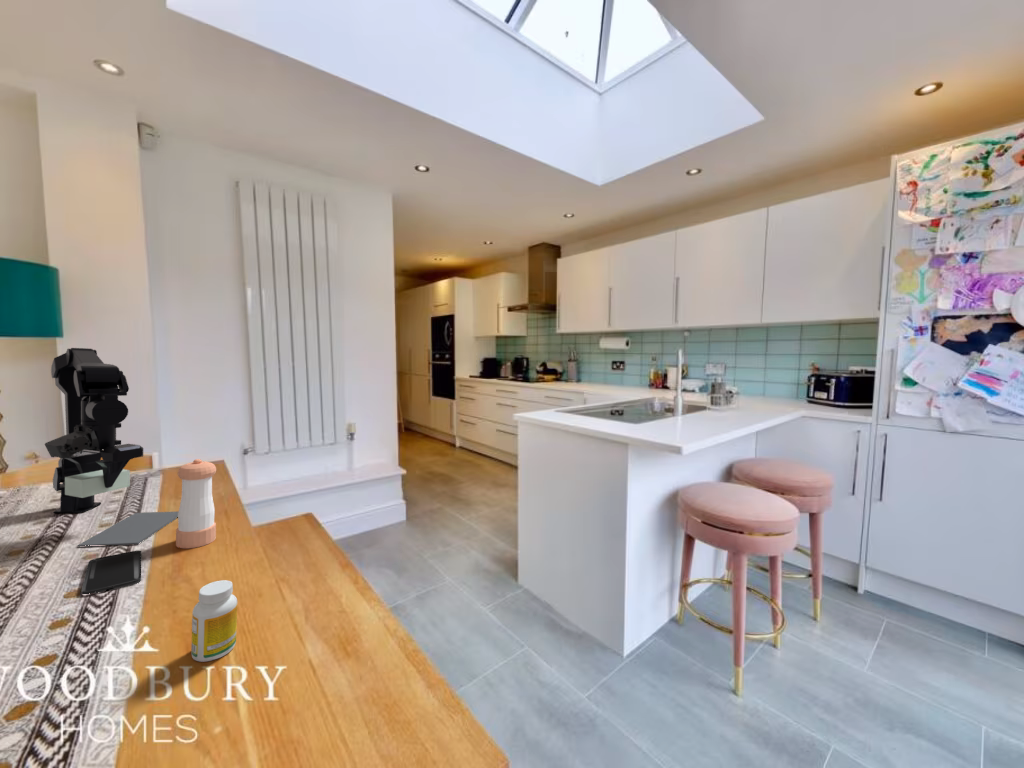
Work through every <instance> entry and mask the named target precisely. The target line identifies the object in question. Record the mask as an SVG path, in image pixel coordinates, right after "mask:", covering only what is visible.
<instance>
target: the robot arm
mask: <svg viewBox="0 0 1024 768" xmlns="http://www.w3.org/2000/svg"><path fill="white" fill-rule="evenodd" d="M50 371H51V372H50V373H51V378H52V379H54V383H55V386H56V387H57V388H58V390H59V391H60V392H62V394H64V407H65V408H64V410H65V429H66V430H65V433H66V434H64V435H62V436H60V437H57V438H54V439H52V440H49V441H47V442H45V443H44V446H45V448H46V450H47V452H48V454H49V455H50V457H51V458H59V459H58V461H57V464H58V465H57V467H55V468H54V473H53V478H52V488H53V489H54V491H56V492H60V499H59V500H60V503H59V506H60V508H58V509H55V510H53V514H65V513H66V514H70V513H73V514H75V513H85V512H87V511H90V510H92V509H94V508H96V507H98V506H100V505H102V501H101V502H99V501H97V502H96V501H95V495H92V496H88V497H84V498H80V497H75V496H69V495H65V477H68V476H73V475H78V474H84V473H89V472H94V471H99V470H103V477H104V484H105V487H106V488H109V487H112V486H113V484H114V482H115V481H116V479H117V478H118V476H119V475H120V473H121V471H122V470H123V469H125V467H126V466H127V465H128V463H129V462H130V460H133V459H136V458H141V457H144V447H143V446H141V445H140V444H135V443H125V444H122V440H120V439H117V429H119V428H122V423H121V422H123V421H125V420H126V418H128V415H129V409H128V406H127V405H126V404H125V403H124V402H123V401H121V400H119V396H121V397H122V396H123V397H126V396H128V392H129V390H130V388H129V383H128V381H127V377H126V375H125V374H124V372H123V371H122V370H120V368H119V367H118V366H117V365H114V364H110V363H104V362H103V360H102V359H101V358H100V357H99V356H98V352H97V350H96V349H93V348H88V347H87V348H85V347H84V348H83V347H71V348H67V349H66V351H65V352H64V353H62V354H61V355H58V356H56V357H54V358H53V361H52V364H51V369H50Z"/></svg>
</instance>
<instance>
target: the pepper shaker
mask: <svg viewBox="0 0 1024 768" xmlns="http://www.w3.org/2000/svg"><path fill="white" fill-rule="evenodd" d="M216 472H217V467H216V465H215V463H212V462H209V461H206V460H205V461H203V460H202V459H200V458H196V459H194V460H193V461H192V462H188V463H185V464H183V465H181V466H180V467H179V468H178V470H177V477H178V478H179V479H180V480H181V499H180V503H179V504H180V505H179V508H178V511H179V512H178V511H177V512H178V518H177V522H178V525H177V526H178V527H177V528H176V529H175V546H176V547H177V548H179V547H180V548H179V549H195V548H199V547H203V546H207V545H209V544H211V543H213V542H214V541H215V540H216V537H217V523H216V521H215V512H216V511H215V510H216V509H215V504H214V503H215V502H214V500H213V499H214V498H213V477H214V476H215V474H216Z"/></svg>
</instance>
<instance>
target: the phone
mask: <svg viewBox="0 0 1024 768" xmlns="http://www.w3.org/2000/svg"><path fill="white" fill-rule="evenodd" d="M84 574H85V576H84V580H83V583H82V587H81V592H82V594H89V593H90V594H91V593H98V592H103V591H106V590H111V591H114V590H118V589H124V588H126V587H127V588H128V587H131V586H135V585H137V583H138V584H139V582H140V581H142V550H133V551H128V552H122V553H116V554H111V555H107V556H102V557H95V558H92V559H91V560H89V561H88V562H87V566H86V569H85V573H84ZM140 583H141V582H140ZM103 593H104V592H103Z"/></svg>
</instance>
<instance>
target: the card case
mask: <svg viewBox="0 0 1024 768" xmlns="http://www.w3.org/2000/svg"><path fill="white" fill-rule="evenodd" d="M130 473H131V470H130V469H125V468H123V470H122V471H121V473H120V475H119V476H118V478H117V479H116V481H115V482H114V484H113V486H112V487H109V488H106V487H105V484H104V477H103V470H99V471H94V472H89V473H84V474H78V475H73V476H68V477H65V495H69V496H75V497H80V498H84V497H88V496H92V495H94V496H95V495H96V496H97V495H100V494H101V495H102V494H104V493H109V492H112V491H117V490H121V489H125V488H129V487H130V486H131V484H130V481H131V480H130V479H131V475H130Z"/></svg>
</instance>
